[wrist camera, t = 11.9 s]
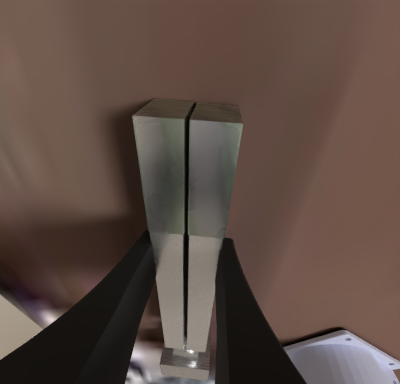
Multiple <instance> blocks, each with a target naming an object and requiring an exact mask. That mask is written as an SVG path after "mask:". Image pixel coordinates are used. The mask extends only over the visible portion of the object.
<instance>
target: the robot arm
mask: <svg viewBox="0 0 400 384" xmlns="http://www.w3.org/2000/svg"><path fill="white" fill-rule="evenodd" d="M155 277H156V267H155V259H154V252H153V244H152V242H151V239H150V231H148V230H146V231H145V232H144V233H143V235H142V236H141V237H140V238H139V240H138V241H137V242H136V243H135V245H134V246H133V247H132V248H131V249H130V251H129V252H128V253H127V254H126V255H125V256H124V257H123V259H122V260H121V261H120V262H119V263H118V264H117V265H116V266H115V267H114V268H113V269H112V271H111V272H110V273H109V274H108V275H107V276H106V277H105V278H104V279H103V280H102V281H101V282H100V283H99V284H98V285H97V286H95V287H94V288H93V289H92V290H91V291H90V292H89V293H88V294H87V295H86V296H85V297H83V298H82V299H81V300H80V301H79V302H78V303H76V304H75V305H74V306H73V307H72V308H70V309H69V310H68V311H67V312H66V313H64V314H63V315H62V316H61V317H59V318H58V319H57V320H56V321H54V322H53V323H52V324H50V325H49V326H48V327H46V328H45V329H44V330H42V331H41V332H40V333H38V334H37V335H36V336H34V337H33V338H32V339H30V340H29V341H27V342H26V343H25V344H23V345H22V346H20V347H19V348H17V349H16V350H14V351H13V352H11V353H10V354H8V355H7V356H6V357H4V358H3V359H1V360H0V384H125V381H126V376H127V372H128V368H129V364H130V359H131V355H132V351H133V347H134V343H135V339H136V335H137V332H138V328H139V324H140V321H141V318H142V315H143V312H144V309H145V306H146V304H147V301H148V298H149V295H150V292H151V289H152V286H153V283H154V280H155ZM215 297H216V320H217V348H216V374H215V384H400V383H399V381H398V379H397V377H396V376H395V374H394V372H393V370H394V369H400V362H399V361H398V360H396V359H394V358H393V357H391V356H389V355H388V354H386V353H384V352H383V351H381V350H379V349H377V348H376V347H374V346H372V345H371V344H369V343H367V342H366V341H364V340H362V339H361V338H359V337H357V336H356V335H354V334H352V333H350V332H349V331H347V330H339V331H336V332H333V333H329V334H326V335H323V336H319V337H316V338H312V339H309V340H306V341H302V342H299V343H296V344H292V345H289V346H286V347H282V345H281V343H280V342H279V340H278V339H277V337H276V336H275V334H274V332H273V331H272V329H271V327H270V325H269V324H268V322H267V320H266V318H265V317H264V315H263V313H262V311H261V309H260V307H259V305H258V303H257V301H256V299H255V297H254V295H253V293H252V291H251V289H250V287H249V285H248V282H247V280H246V278H245V275H244V273H243V270H242V268H241V265H240V262H239V260H238V257H237V254H236V250H235V247H234V243H233V240H232V239H230V238H224V239H223V243H222V250H220V251H219V257H218V264H217V270H216V277H215Z"/></svg>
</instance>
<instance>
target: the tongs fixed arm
mask: <svg viewBox="0 0 400 384" xmlns="http://www.w3.org/2000/svg"><path fill="white" fill-rule="evenodd" d="M193 111H194V101H188V100H174V99H159V98H155V99H153V100H152V101H151V102H149V103H148V104H147V105H145V106H144V107H143V108H142V109H140V110H139V111H138V112H136V113H135V114H134V115H132V118H133V125H134V132H135V139H136V147H137V154H138V161H139V168H140V175H141V182H142V189H143V196H144V203H145V211H146V218H147V225H148V231H150V239H151V242H152V244H153V252H154V259H155V267H156V283H157V290H158V297H159V305H160V312H161V319H162V327H163V334H164V346H163V351H162V356H161V361H160V367H161V372H162V375H168V376H175V377H183V378H190V379H198V380H205V381H207V379H208V375H209V367H210V343H211V332H208V339H207V345H206V351H205V352H198V359H197V360H195V361H183V360H179V359H177V358H175V357H174V356H173V349H174V348H175V349H182V350H183V349H184V341H185V334H186V326H187V319H188V271H189V235H188V201H189V130H190V118H191V116H192V114H193Z"/></svg>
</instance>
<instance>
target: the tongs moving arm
mask: <svg viewBox="0 0 400 384" xmlns="http://www.w3.org/2000/svg"><path fill="white" fill-rule="evenodd" d="M242 127H243V121H242V118H241V114H240V110H239V106H238V105H231V104H216V103H201V102H198V103H197V105H196V107H195V109H194V111H193V114H192V116H191V118H190V130H189V201H188V235H189V271H188V320H187V326H186V334H185V341H184V349H183V350H182V349H175V348H174V349H173V356H174V357H175V358H177V359H179V360H183V361H195V360H197V359H198V352H205V351H206V345H207V339H208V332H209V326H210V320H211V313H212V307H213V301H214V294H215V277H216V270H217V264H218V257H219V251H220V250H222V243H223V239H224V238H225V232H226V226H227V220H228V213H229V207H230V201H231V195H232V189H233V183H234V176H235V170H236V164H237V158H238V152H239V146H240V139H241V133H242Z"/></svg>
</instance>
